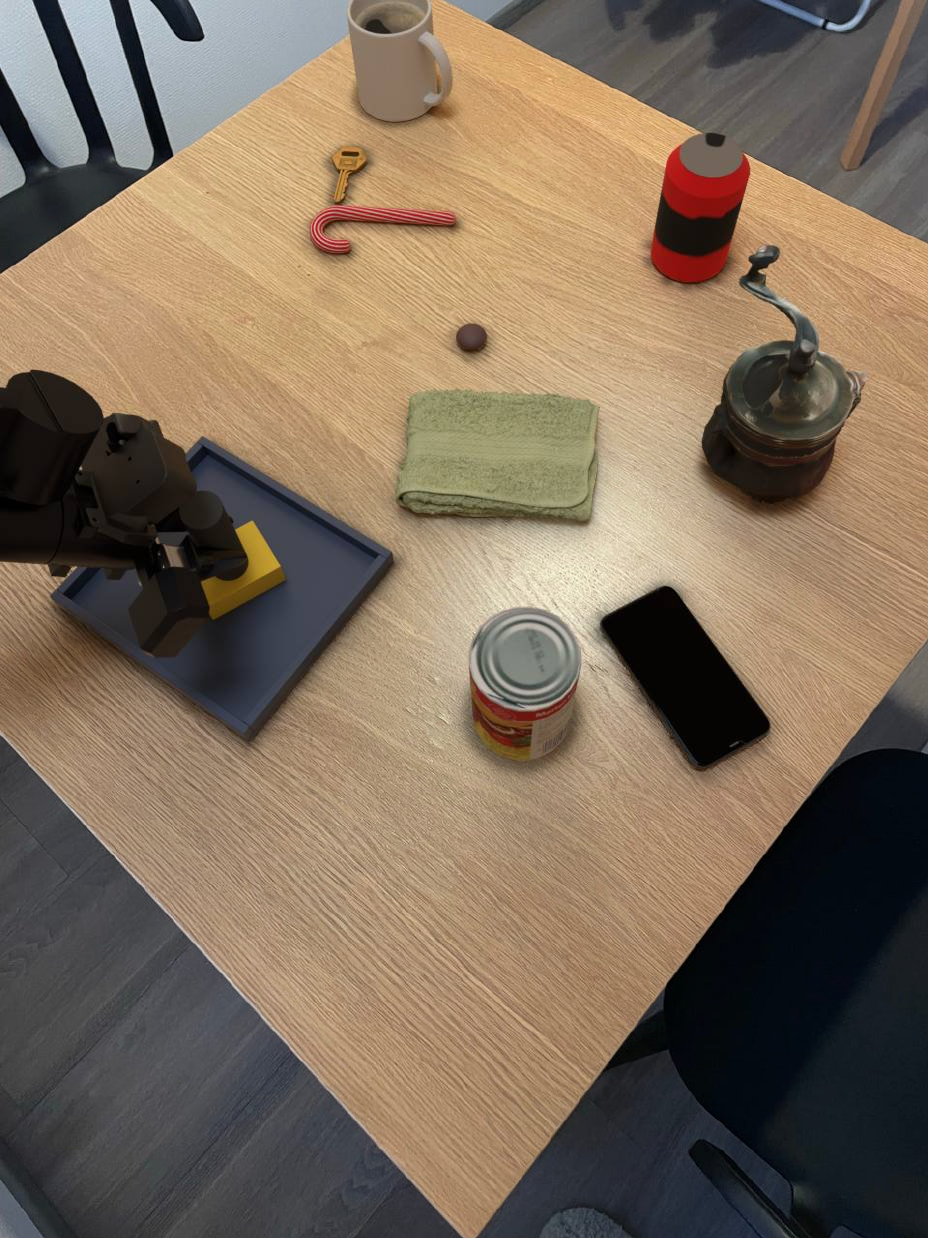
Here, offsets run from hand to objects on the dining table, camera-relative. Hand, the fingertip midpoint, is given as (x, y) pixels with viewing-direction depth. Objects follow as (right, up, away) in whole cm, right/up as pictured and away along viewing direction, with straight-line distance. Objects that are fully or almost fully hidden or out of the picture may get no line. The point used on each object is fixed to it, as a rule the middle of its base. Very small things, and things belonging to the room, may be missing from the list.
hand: (238, 541), depth 78 cm
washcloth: (+21, +8, +11) cm, 25 cm away
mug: (+11, +52, +32) cm, 62 cm away
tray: (-2, -3, +6) cm, 8 cm away
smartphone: (+36, -11, +2) cm, 37 cm away
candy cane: (+10, +34, +23) cm, 42 cm away
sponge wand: (-1, -3, +6) cm, 6 cm away
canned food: (+23, -14, +1) cm, 27 cm away
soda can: (+41, +30, +21) cm, 55 cm away
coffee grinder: (+43, +9, +10) cm, 46 cm away
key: (+5, +41, +27) cm, 49 cm away
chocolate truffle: (+19, +21, +17) cm, 33 cm away
